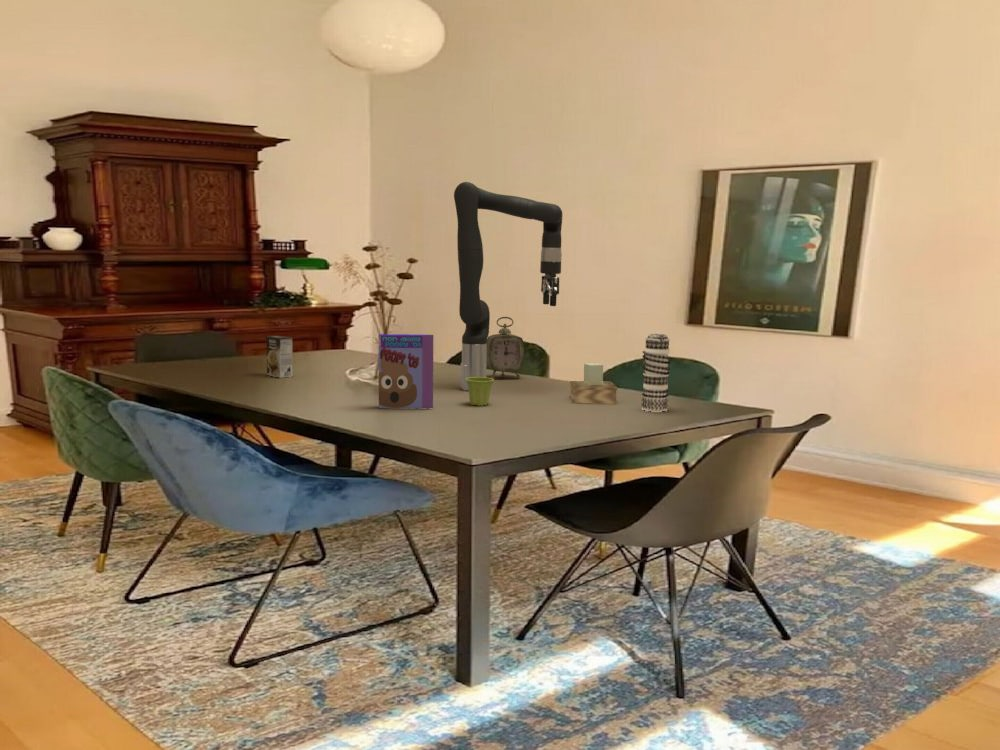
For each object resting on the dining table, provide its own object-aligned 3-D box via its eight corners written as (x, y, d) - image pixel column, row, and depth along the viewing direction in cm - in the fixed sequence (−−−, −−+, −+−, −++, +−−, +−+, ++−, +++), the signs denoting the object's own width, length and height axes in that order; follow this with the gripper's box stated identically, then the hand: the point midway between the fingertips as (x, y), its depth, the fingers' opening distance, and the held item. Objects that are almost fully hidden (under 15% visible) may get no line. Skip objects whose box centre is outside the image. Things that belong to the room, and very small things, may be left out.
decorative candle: (636, 407, 286) (639, 333, 282) (662, 407, 288) (665, 333, 284) (646, 412, 277) (649, 336, 274) (673, 412, 279) (676, 335, 276)
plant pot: (486, 401, 293) (486, 376, 292) (498, 405, 285) (498, 380, 284) (461, 403, 289) (461, 377, 288) (472, 407, 281) (472, 381, 280)
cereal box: (378, 409, 276) (378, 335, 273) (379, 406, 281) (379, 333, 278) (432, 409, 277) (433, 335, 274) (433, 406, 282) (433, 334, 279)
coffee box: (266, 376, 342) (265, 336, 339) (279, 374, 347) (278, 335, 344) (280, 378, 336) (279, 337, 334) (293, 377, 341) (292, 336, 338)
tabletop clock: (488, 380, 341) (489, 317, 337) (484, 377, 349) (484, 315, 346) (524, 379, 344) (525, 317, 340) (518, 376, 353) (519, 315, 349)
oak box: (574, 404, 292) (575, 387, 291) (569, 397, 306) (570, 380, 305) (616, 405, 292) (617, 387, 291) (609, 397, 306) (610, 381, 306)
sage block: (589, 385, 296) (589, 365, 294) (583, 383, 300) (584, 363, 299) (602, 384, 297) (603, 364, 296) (596, 382, 302) (597, 363, 301)
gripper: (535, 259, 316) (534, 303, 318) (546, 260, 302) (545, 306, 304) (554, 260, 317) (553, 303, 320) (567, 261, 304) (565, 306, 306)
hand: (549, 305), depth 312 cm, fingers open, 8 cm apart
